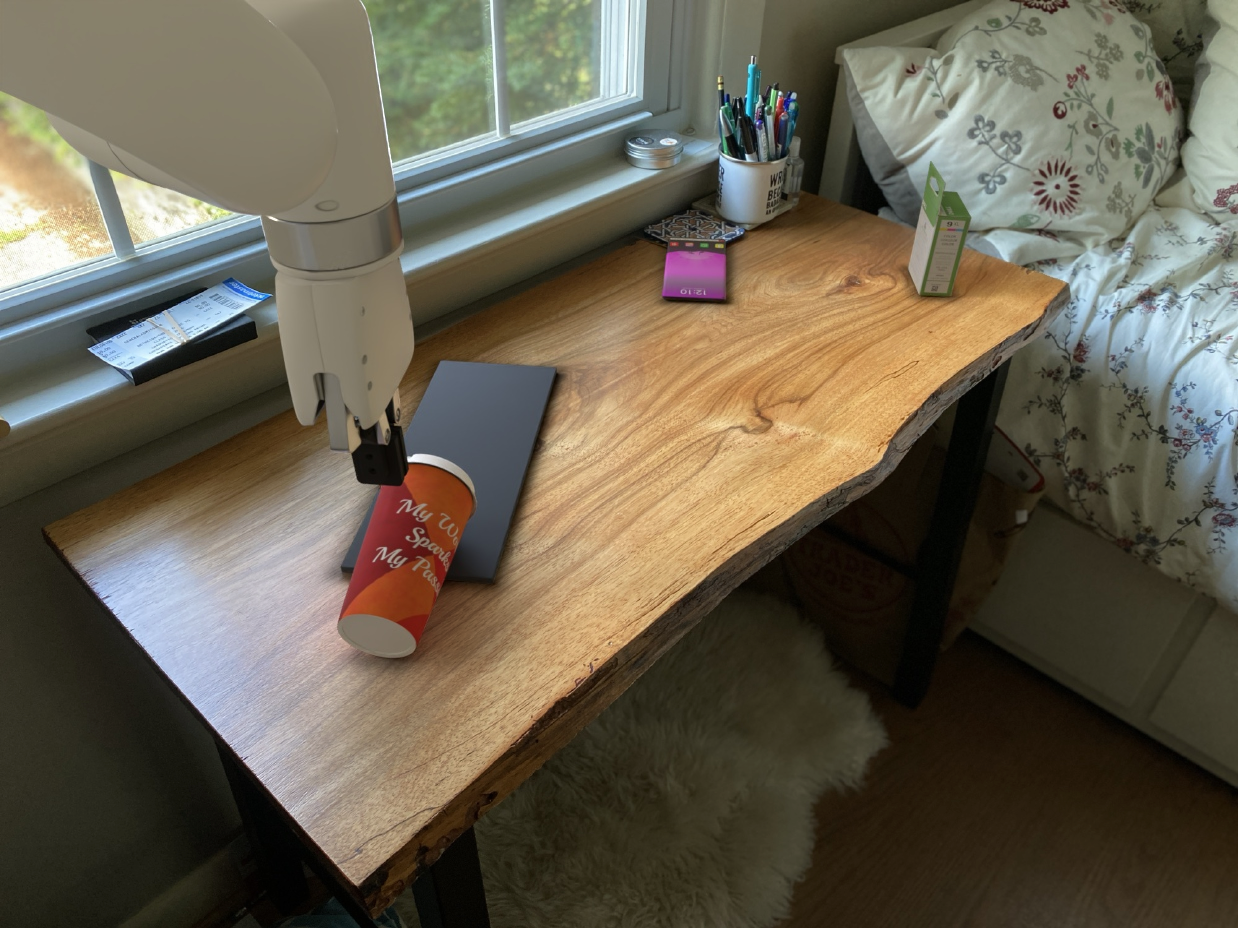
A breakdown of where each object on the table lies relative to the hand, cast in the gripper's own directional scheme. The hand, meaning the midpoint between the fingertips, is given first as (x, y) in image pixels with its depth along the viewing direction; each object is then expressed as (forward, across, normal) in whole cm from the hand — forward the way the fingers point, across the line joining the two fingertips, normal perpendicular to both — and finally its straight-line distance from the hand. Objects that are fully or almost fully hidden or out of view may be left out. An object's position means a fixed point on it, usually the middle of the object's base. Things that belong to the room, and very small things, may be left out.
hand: (383, 477), depth 64 cm
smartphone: (+10, -54, +20) cm, 59 cm away
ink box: (+11, -55, +47) cm, 73 cm away
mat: (+11, -16, +1) cm, 19 cm away
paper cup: (+8, +8, +1) cm, 11 cm away
